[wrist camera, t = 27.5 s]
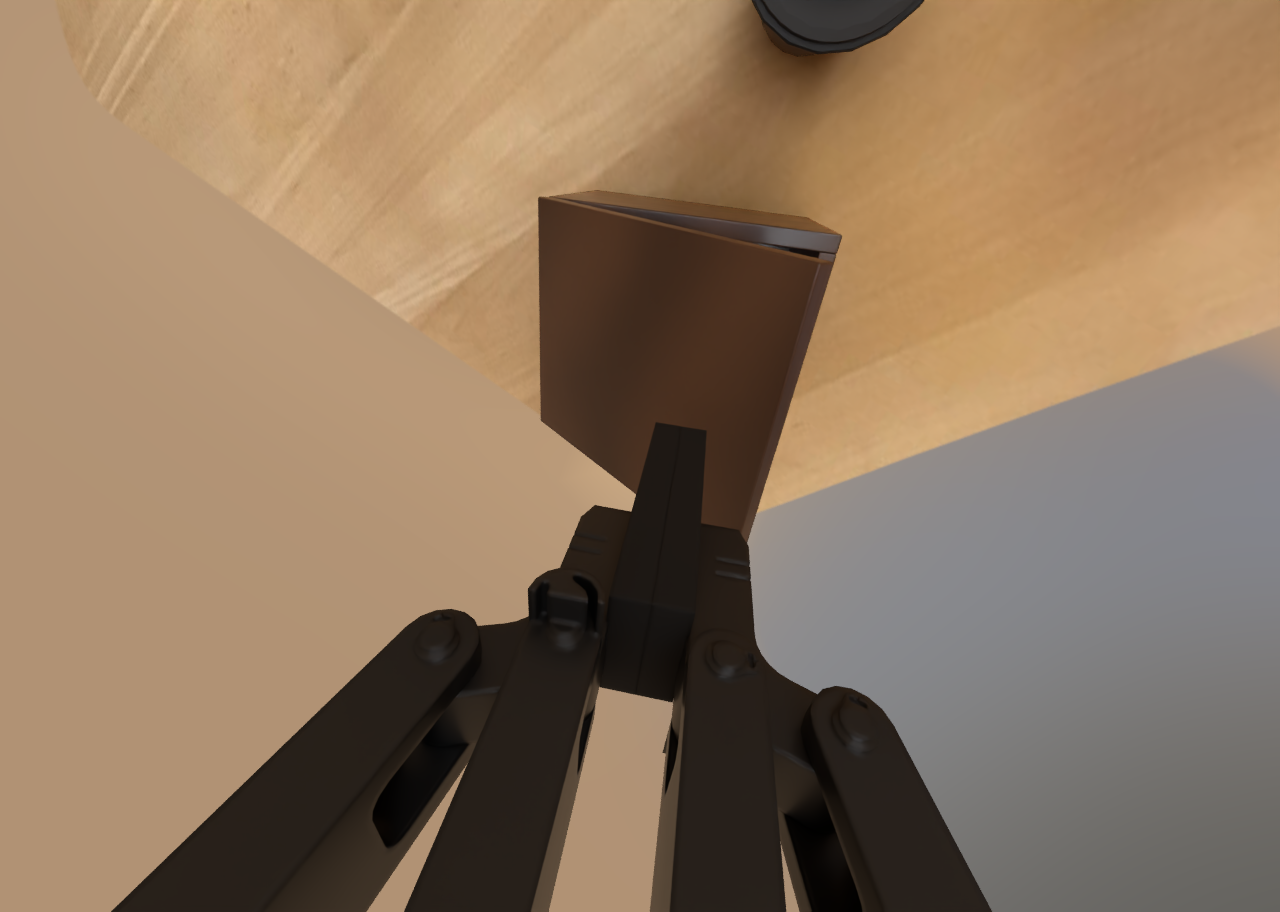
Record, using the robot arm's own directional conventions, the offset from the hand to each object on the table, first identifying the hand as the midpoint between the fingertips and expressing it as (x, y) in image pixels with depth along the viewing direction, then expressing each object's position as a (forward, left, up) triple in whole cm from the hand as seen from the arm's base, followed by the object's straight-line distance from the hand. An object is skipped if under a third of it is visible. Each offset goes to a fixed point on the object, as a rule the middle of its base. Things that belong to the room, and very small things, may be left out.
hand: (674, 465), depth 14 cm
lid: (-2, 0, -7) cm, 8 cm away
